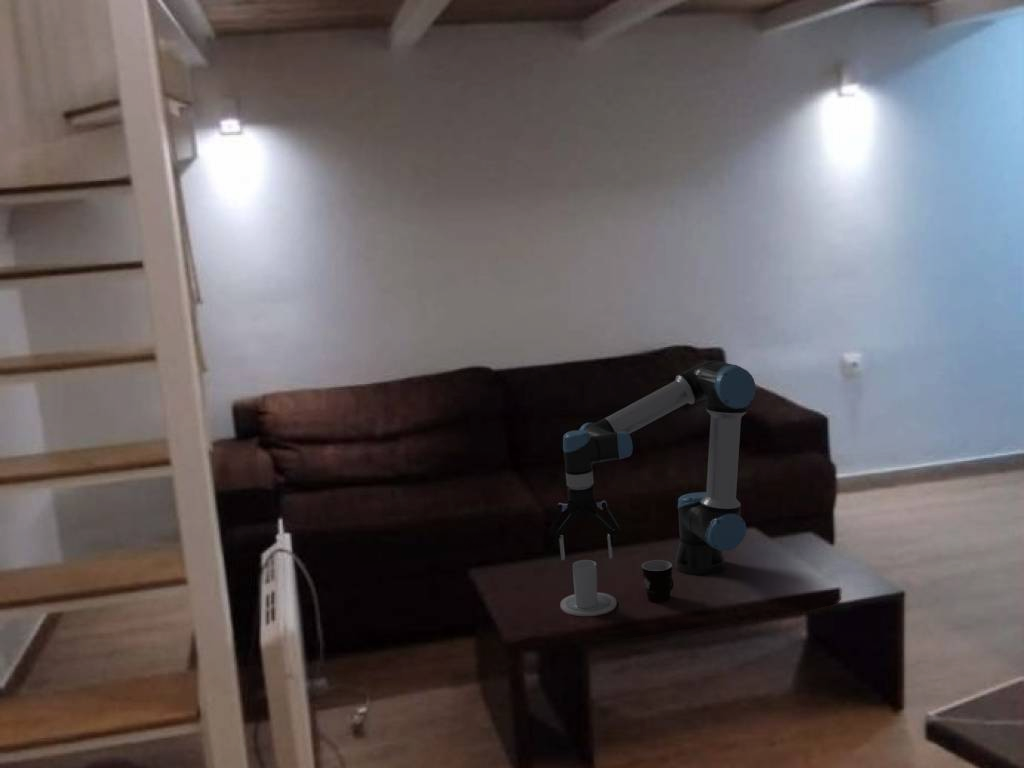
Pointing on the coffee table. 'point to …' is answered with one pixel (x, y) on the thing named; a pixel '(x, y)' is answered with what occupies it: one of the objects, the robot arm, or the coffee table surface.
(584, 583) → the mug
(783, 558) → the coffee table surface
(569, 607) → the plate
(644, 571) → the coffee mug
